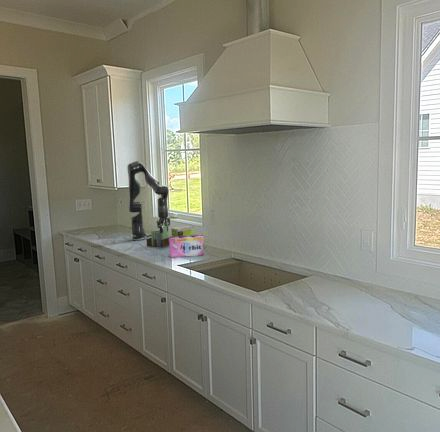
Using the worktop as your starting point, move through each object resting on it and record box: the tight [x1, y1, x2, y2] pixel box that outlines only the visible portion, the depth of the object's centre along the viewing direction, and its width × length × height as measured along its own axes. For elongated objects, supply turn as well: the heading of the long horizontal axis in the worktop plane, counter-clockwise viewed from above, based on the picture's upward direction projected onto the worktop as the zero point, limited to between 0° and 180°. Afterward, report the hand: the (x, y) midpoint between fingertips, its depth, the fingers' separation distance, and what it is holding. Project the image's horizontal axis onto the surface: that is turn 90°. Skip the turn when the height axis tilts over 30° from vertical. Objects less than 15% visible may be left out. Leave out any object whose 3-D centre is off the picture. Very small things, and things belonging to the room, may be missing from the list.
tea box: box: [170, 225, 195, 237], centre depth 328 cm, size 15×10×15 cm, turn 135°
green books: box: [150, 229, 160, 246], centre depth 325 cm, size 6×4×12 cm, turn 160°
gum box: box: [168, 234, 205, 258], centre depth 293 cm, size 24×8×14 cm, turn 103°
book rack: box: [145, 237, 170, 249], centre depth 324 cm, size 10×15×7 cm, turn 70°
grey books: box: [156, 232, 162, 248], centre depth 323 cm, size 6×4×11 cm, turn 160°
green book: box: [161, 225, 169, 240], centre depth 322 cm, size 6×2×12 cm, turn 160°
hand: (164, 232), depth 321 cm, fingers closed on green book, 6 cm apart
